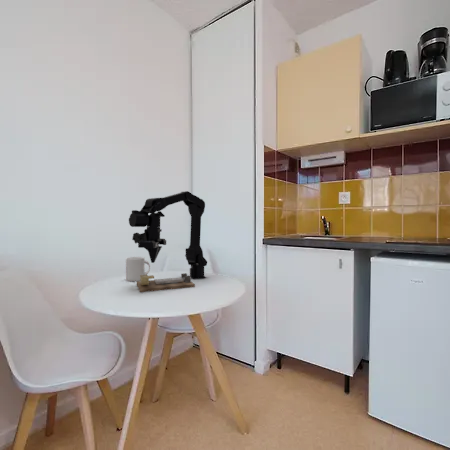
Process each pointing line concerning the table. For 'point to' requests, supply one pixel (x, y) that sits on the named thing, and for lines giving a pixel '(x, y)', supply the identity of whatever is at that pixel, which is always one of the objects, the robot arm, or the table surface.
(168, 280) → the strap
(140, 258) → the mug
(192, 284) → the base
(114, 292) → the table surface
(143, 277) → the gold t-shaped block
